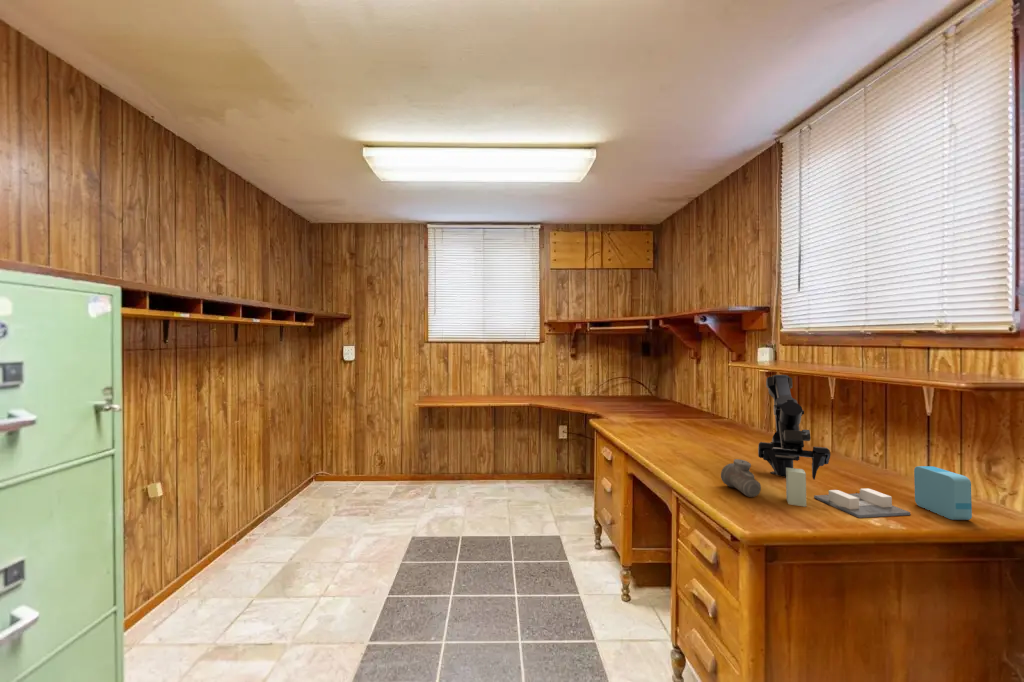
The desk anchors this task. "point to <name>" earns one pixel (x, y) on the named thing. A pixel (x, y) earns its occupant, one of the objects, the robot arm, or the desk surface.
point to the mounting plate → (865, 508)
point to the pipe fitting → (741, 478)
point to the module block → (796, 486)
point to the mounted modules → (865, 494)
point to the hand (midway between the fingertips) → (795, 476)
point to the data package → (943, 492)
